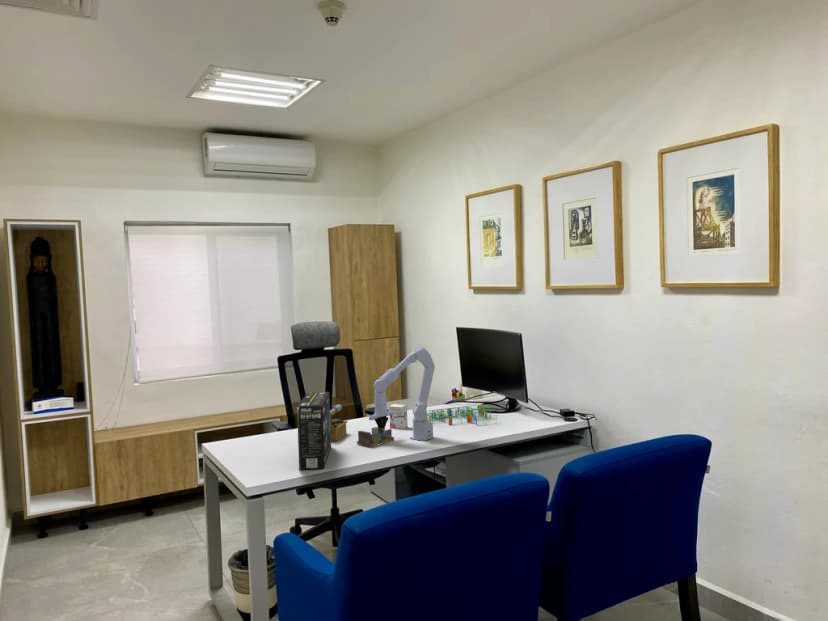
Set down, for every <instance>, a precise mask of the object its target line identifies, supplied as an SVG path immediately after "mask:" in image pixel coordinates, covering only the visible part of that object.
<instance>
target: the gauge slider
mask: <svg viewBox="0 0 828 621" xmlns="http://www.w3.org/2000/svg"><path fill="white" fill-rule="evenodd" d="M385 430H386V428H385V429H383V428H379V427H378V426H374V427H371V434H375V433H378V432H382V431H383V433H385Z"/></svg>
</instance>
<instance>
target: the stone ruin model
mask: <svg viewBox="0 0 828 621" xmlns="http://www.w3.org/2000/svg"><path fill="white" fill-rule="evenodd" d="M392 432H393V431H392V428H390V429H385V433H383V431H382V432H378V433H375V434H372V432H369V431H366V430H365V431H364V430H358V431H357V438H358V440H357V441H356V445H357V444H359V445H358V446H362V445H363V447H366V446H368V448H373V447H375V445H376V446H379V445H378V444H380V445H382V444H381V443H383V444H386V443H389V442H391V440H392V441H395V437H394V436H393V435H392ZM388 441H389V442H388ZM385 442H386V443H385ZM372 446H373V447H372Z"/></svg>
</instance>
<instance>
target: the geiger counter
mask: <svg viewBox="0 0 828 621" xmlns="http://www.w3.org/2000/svg"><path fill="white" fill-rule="evenodd" d="M342 409H343V407H342V404H336V405H334V406H333V407H332V408H331V409H330V430H331V442H337V441H339V440H340V439H341V438H342V437H344V436H345V435H346V434H347V423H348V420H344V419H343V418H342V419H341V418H335V419H332V417H333V416H334V415H336V413H338V412H340V411H341V410H342Z"/></svg>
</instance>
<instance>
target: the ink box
mask: <svg viewBox="0 0 828 621" xmlns="http://www.w3.org/2000/svg"><path fill="white" fill-rule="evenodd" d="M388 411H393V415H389V416H388V417H389V428H390V429H398V428H400V429H399V430H401V429H402V430H405V429H407V428H409V426H408V424H409V422H408V421H409V420H408V405H406V404H397V403H393V404H391V405H389V406H388Z"/></svg>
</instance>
